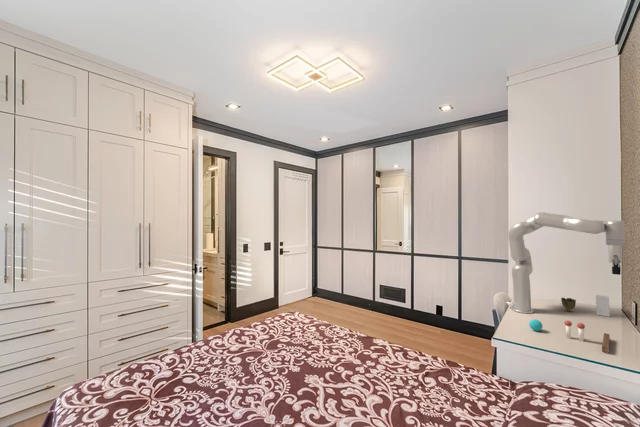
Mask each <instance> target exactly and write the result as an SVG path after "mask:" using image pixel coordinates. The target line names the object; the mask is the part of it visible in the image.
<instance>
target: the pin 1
mask: <svg viewBox="0 0 640 427" xmlns="http://www.w3.org/2000/svg"><path fill="white" fill-rule="evenodd" d="M564 325H565V337H566V338H567V339H572V325H573V323H572V321H570V320H565V321H564Z"/></svg>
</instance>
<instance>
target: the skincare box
mask: <svg viewBox="0 0 640 427" xmlns="http://www.w3.org/2000/svg"><path fill="white" fill-rule="evenodd" d="M609 298H610V297H609V295H601V294H595V305H596V306H595V307H596V315H597V316H602V317H611V310H610V299H609Z"/></svg>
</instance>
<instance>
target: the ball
mask: <svg viewBox="0 0 640 427" xmlns="http://www.w3.org/2000/svg"><path fill="white" fill-rule="evenodd" d="M528 324H529V325H528V326H529V327H530V329H532V330H533V331H535V332H537V331H538V332H539V331H541V330H543V324H542V321H540V320H538V319H536V318H535V319H534V318H533V319H531V320H530V321H529V323H528Z"/></svg>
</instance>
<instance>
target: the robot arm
mask: <svg viewBox="0 0 640 427" xmlns="http://www.w3.org/2000/svg"><path fill="white" fill-rule="evenodd" d="M625 226H626V225H625V221H623V220H598V219H595V220H593V219H583V218H577V217H573V216H569V215H565V214H557V213H550V212H549V213H548V212H545V211H544V212H543V211H542V212H538V213H536V214H534V216H532V217H530V218H528V219H527V220H525V221H520V222H517V223H516V224H514V225H512V226H511V227H510V229H509V231H508V236H507V237H508V243H509V250H510V251H509V252H510V257H511V260H513V261H515V264H514V265H513V267H512V269H511V277H512V287H513V288H512V289H513V291H512V292H513V301H511V302H510V301H506V305H507V306H509V307H510V306H511V307H510V308H511V311H514V312H517V313H521V314H533V313H534V312H535V309H534V308H532V298H531V296H532V295H531V294H532V293H531V278H530V275H531V274H532V273H533V271H534V270H533V268H534V267H533V262H532V256H531V252H530V251H529V249H528V248H527V247H526V246H525V240H524V236H525V235H529V234H531V233H533V232H535V231H537V230H539V229H541V228H543V227H547V228H554V229H560V230H565V231H566V230H567V231H575V232H578V233H580V232H581V233H584V234H585V233H586V234H594V235H598V234H601V233H605V245H606V246H608V262H609V263H612V264H611V274H613V275H619V276H620V275H621V263H622V261H623V246H626V234H625V233H626V230H625Z"/></svg>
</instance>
